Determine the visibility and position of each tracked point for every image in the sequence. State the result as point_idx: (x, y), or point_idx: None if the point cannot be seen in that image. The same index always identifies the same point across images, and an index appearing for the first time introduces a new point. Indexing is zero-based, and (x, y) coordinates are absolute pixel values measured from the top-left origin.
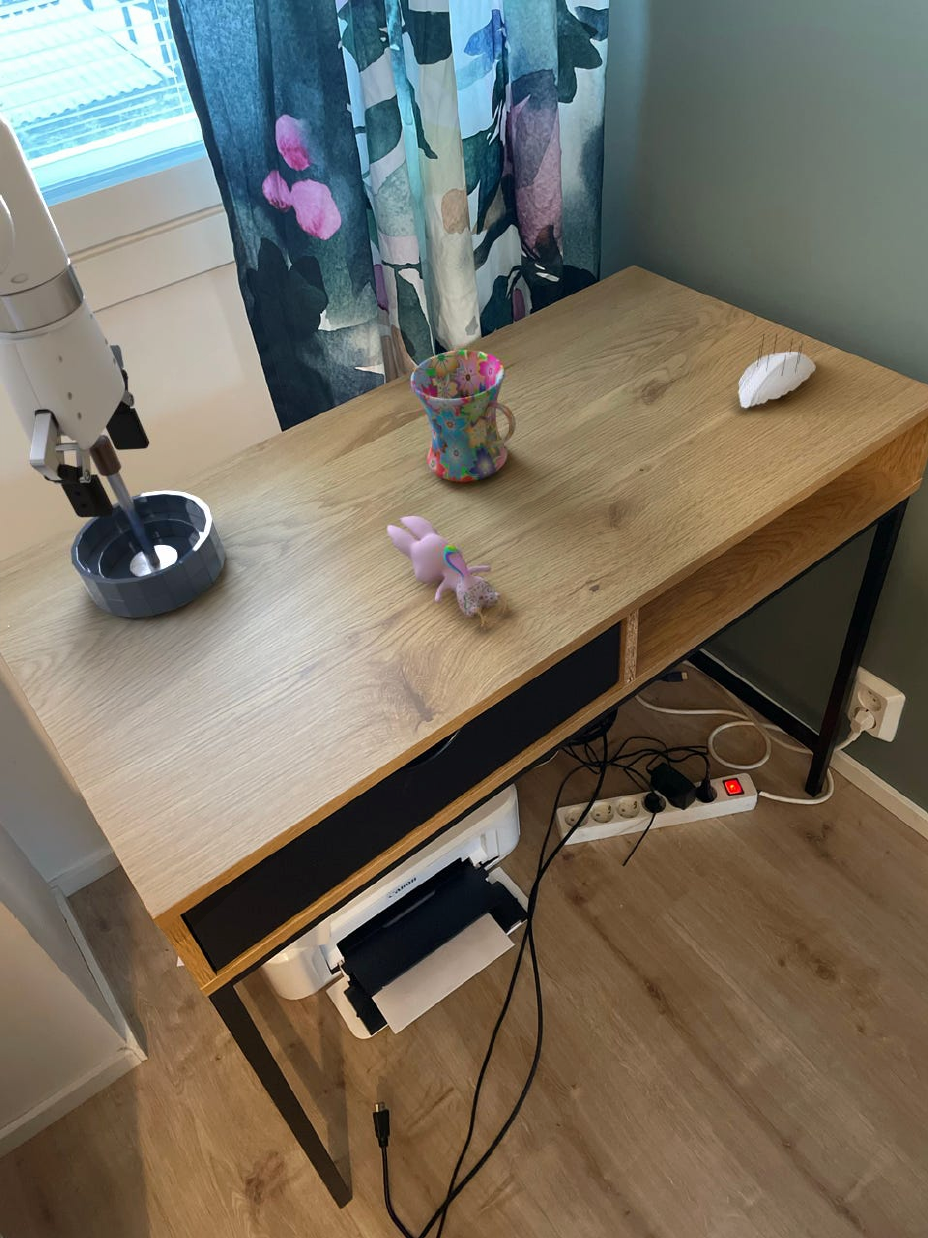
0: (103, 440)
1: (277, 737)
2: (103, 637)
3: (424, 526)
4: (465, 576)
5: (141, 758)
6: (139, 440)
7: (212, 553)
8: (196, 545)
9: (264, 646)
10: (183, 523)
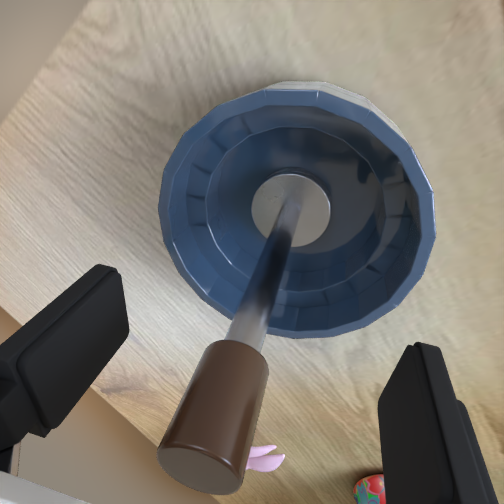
0: (199, 484)
1: None
2: (168, 131)
3: (256, 469)
4: None
5: (19, 209)
6: (381, 423)
7: None
8: None
9: (159, 312)
10: (362, 264)
